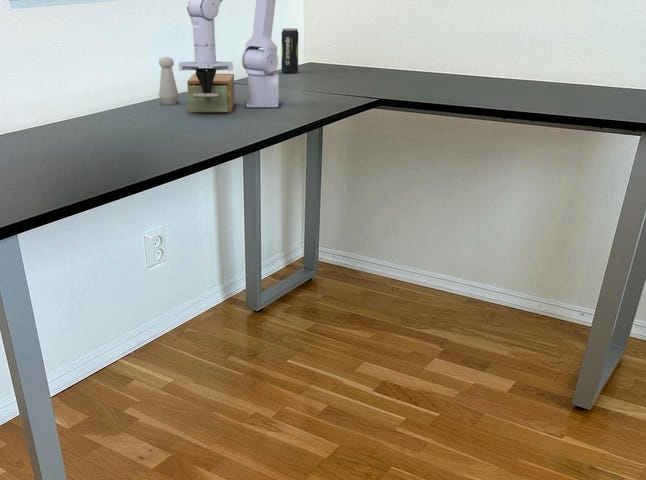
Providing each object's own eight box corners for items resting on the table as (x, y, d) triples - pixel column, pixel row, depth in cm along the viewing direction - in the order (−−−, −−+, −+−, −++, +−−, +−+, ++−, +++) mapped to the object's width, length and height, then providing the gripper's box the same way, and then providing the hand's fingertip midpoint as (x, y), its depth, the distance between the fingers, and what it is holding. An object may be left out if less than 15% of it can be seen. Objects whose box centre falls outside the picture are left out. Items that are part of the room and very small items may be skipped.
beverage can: (280, 73, 264) (280, 29, 256) (282, 71, 269) (282, 28, 261) (296, 74, 263) (297, 30, 255) (299, 71, 268) (299, 28, 260)
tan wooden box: (231, 112, 202) (229, 81, 198) (189, 112, 202) (187, 81, 198) (234, 103, 214) (233, 73, 209) (195, 103, 214) (193, 73, 210)
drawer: (226, 115, 194) (225, 89, 191) (187, 115, 195) (185, 89, 191) (231, 103, 209) (230, 79, 206) (195, 103, 210) (193, 79, 206)
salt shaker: (175, 105, 211) (171, 59, 205) (157, 105, 212) (153, 58, 206) (181, 102, 216) (178, 56, 210) (163, 101, 217) (160, 56, 211)
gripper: (175, 46, 185) (179, 100, 192) (230, 46, 185) (232, 100, 192) (179, 43, 191) (183, 96, 198) (232, 43, 191) (234, 96, 198)
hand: (207, 98), depth 195 cm, fingers closed, pressing on drawer
